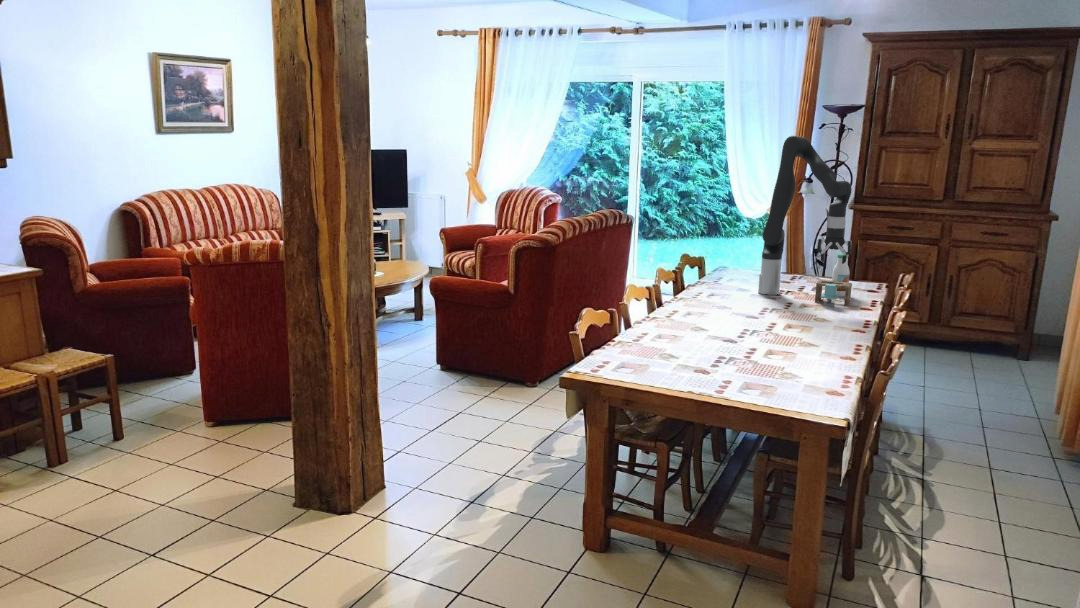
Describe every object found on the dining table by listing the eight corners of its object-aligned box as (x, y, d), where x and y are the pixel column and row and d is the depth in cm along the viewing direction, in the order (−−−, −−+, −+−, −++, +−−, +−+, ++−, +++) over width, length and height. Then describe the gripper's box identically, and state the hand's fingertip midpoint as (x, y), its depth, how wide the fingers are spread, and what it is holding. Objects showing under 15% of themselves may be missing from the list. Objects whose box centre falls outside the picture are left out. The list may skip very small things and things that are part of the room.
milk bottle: (829, 296, 368) (833, 254, 364) (831, 293, 375) (835, 252, 370) (846, 297, 365) (850, 256, 360) (848, 294, 371) (852, 253, 367)
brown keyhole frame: (814, 302, 355) (816, 283, 353) (818, 298, 362) (820, 279, 360) (846, 305, 348) (848, 286, 346) (850, 302, 355) (851, 283, 353)
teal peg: (819, 306, 346) (821, 285, 344) (822, 303, 352) (824, 282, 350) (835, 308, 343) (837, 286, 341) (837, 305, 349) (839, 284, 346)
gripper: (854, 226, 339) (851, 262, 343) (820, 224, 346) (817, 260, 350) (851, 228, 333) (848, 265, 337) (817, 226, 340) (814, 262, 343)
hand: (833, 262), depth 343 cm, fingers open, 8 cm apart
